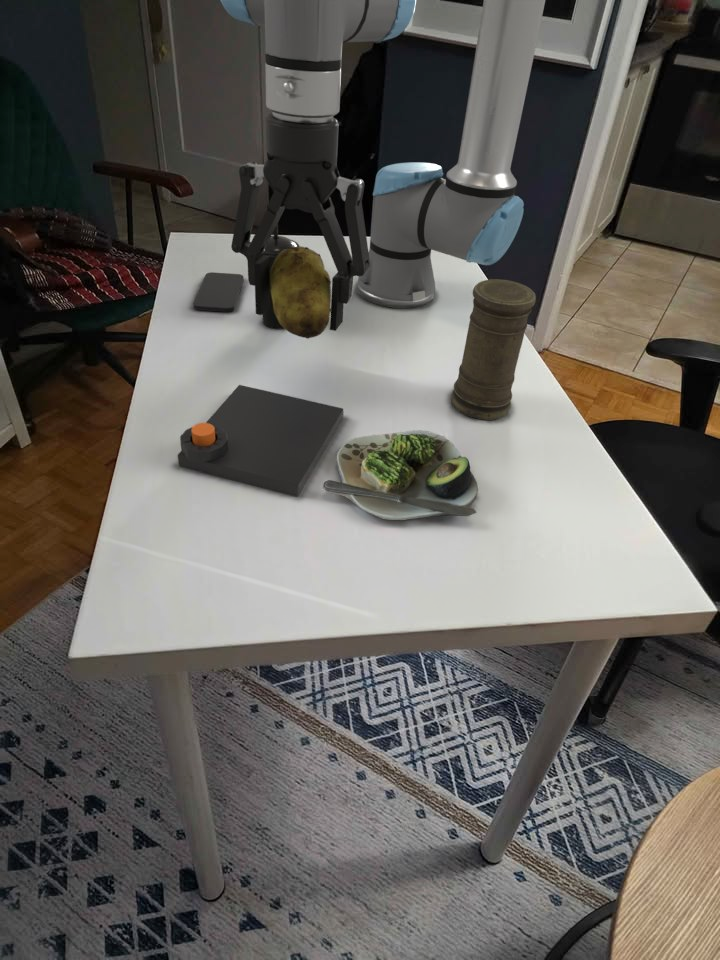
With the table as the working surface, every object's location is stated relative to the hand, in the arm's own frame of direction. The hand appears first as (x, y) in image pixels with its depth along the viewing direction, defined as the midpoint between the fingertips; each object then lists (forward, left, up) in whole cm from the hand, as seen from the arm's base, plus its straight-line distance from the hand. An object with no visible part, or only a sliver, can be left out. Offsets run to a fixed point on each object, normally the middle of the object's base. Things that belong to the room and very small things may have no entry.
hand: (299, 317), depth 81 cm
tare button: (+12, -8, -13) cm, 19 cm away
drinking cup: (-27, -14, -16) cm, 35 cm away
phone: (-33, -28, -16) cm, 47 cm away
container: (-15, +24, -16) cm, 32 cm away
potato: (0, 0, -1) cm, 1 cm away
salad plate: (+7, +18, -16) cm, 25 cm away
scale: (+6, -2, -16) cm, 17 cm away
